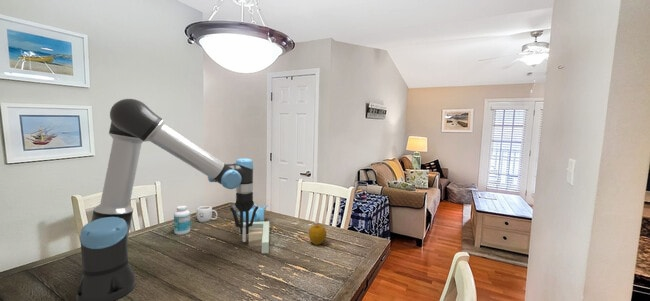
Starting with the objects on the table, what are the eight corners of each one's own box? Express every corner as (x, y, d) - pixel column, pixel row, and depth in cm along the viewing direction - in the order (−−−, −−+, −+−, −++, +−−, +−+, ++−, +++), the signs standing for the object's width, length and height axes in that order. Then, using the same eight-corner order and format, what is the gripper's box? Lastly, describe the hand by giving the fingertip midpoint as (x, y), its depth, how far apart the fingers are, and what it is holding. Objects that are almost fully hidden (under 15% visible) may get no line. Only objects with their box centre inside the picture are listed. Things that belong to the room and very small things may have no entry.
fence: (268, 253, 118) (268, 242, 118) (233, 255, 115) (233, 244, 115) (269, 230, 144) (269, 221, 143) (240, 231, 141) (240, 222, 140)
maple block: (261, 245, 126) (262, 233, 125) (248, 246, 124) (248, 233, 124) (262, 239, 131) (262, 228, 131) (249, 240, 130) (249, 228, 130)
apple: (329, 244, 129) (330, 226, 128) (315, 249, 123) (316, 230, 123) (319, 238, 135) (319, 221, 135) (305, 242, 130) (305, 224, 129)
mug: (193, 222, 151) (193, 209, 151) (201, 217, 160) (201, 204, 159) (214, 223, 151) (213, 210, 150) (220, 218, 159) (220, 205, 158)
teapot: (232, 223, 152) (232, 204, 151) (262, 217, 163) (262, 199, 161) (242, 233, 139) (243, 211, 138) (274, 226, 150) (274, 206, 149)
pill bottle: (173, 231, 139) (173, 205, 138) (189, 228, 143) (189, 203, 142) (174, 236, 133) (174, 209, 131) (191, 233, 137) (191, 207, 135)
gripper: (259, 189, 129) (258, 236, 132) (231, 190, 127) (231, 238, 129) (258, 193, 122) (258, 243, 124) (228, 194, 120) (228, 244, 122)
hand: (244, 240), depth 127 cm, fingers closed
